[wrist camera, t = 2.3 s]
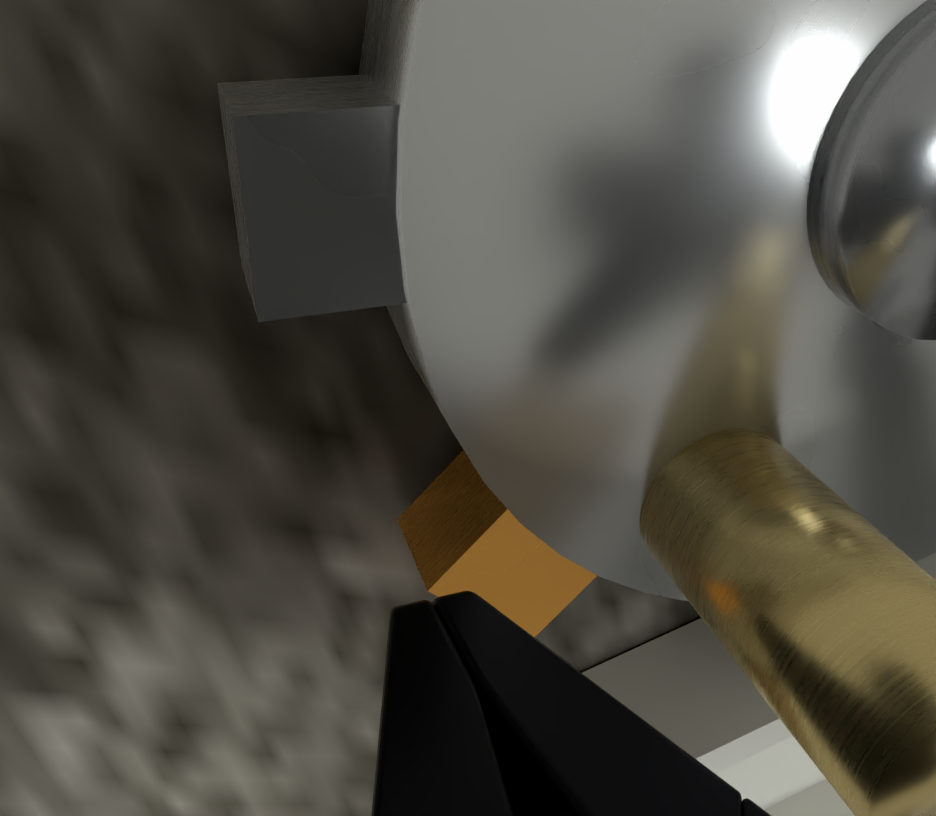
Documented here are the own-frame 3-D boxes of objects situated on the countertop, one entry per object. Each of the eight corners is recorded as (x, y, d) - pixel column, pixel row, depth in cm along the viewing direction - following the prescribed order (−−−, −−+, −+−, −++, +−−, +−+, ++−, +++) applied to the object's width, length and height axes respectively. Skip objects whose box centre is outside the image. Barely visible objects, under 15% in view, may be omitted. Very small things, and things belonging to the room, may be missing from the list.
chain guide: (981, 489, 16) (1091, 568, 14) (957, 697, 19) (1043, 782, 17) (461, 727, 14) (510, 848, 13) (536, 905, 18) (582, 1019, 16)
